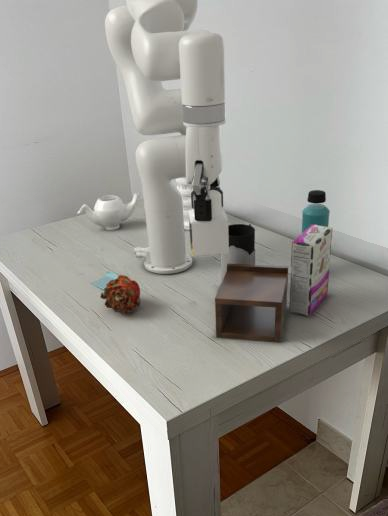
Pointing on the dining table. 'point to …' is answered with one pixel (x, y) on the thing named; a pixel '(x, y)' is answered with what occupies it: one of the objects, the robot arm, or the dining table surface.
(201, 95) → the robot arm
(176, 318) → the dining table surface
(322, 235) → the candy bar box
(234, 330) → the dark wooden cubby
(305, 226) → the beverage bottle
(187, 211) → the decorative container
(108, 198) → the teapot
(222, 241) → the medicine bottle
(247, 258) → the black and white mug
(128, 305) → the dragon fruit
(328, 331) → the dining table surface
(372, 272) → the dining table surface
